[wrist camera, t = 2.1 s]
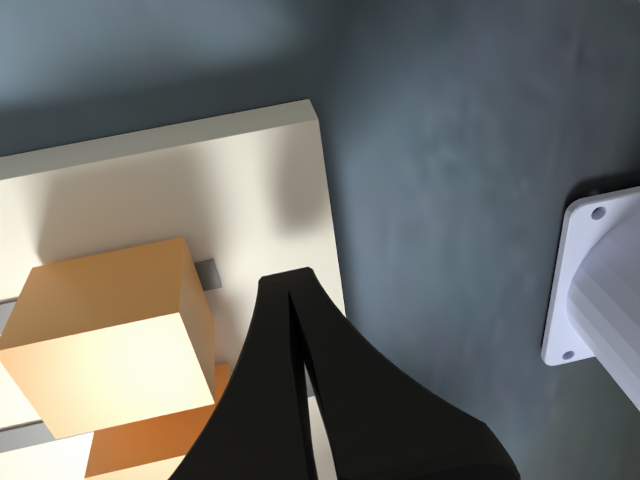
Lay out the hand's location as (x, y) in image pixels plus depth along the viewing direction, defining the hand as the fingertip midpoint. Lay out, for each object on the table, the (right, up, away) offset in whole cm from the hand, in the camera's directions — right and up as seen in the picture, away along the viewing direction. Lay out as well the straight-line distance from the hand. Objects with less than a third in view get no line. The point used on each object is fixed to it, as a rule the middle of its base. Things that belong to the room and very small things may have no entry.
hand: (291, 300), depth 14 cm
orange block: (-5, 0, +1) cm, 5 cm away
